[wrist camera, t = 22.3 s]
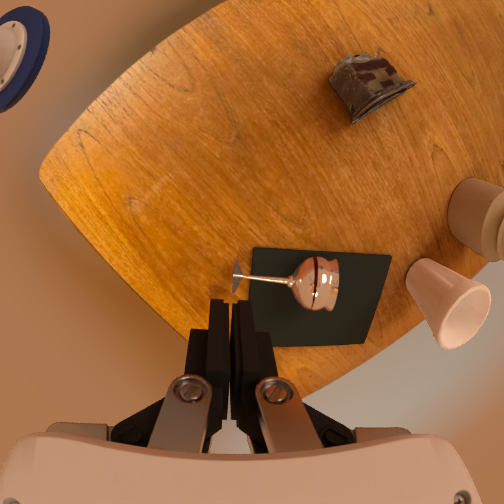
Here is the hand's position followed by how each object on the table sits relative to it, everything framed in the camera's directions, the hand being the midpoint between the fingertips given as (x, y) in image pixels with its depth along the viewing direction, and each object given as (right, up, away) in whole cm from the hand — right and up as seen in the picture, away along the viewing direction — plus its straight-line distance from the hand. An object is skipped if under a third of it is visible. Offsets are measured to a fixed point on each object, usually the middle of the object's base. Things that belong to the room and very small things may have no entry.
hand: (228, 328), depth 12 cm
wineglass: (-1, 0, +24) cm, 24 cm away
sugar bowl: (+38, +11, +25) cm, 47 cm away
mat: (+10, -4, +29) cm, 31 cm away
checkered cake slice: (+15, +25, +17) cm, 34 cm away
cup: (+28, 0, +29) cm, 40 cm away
